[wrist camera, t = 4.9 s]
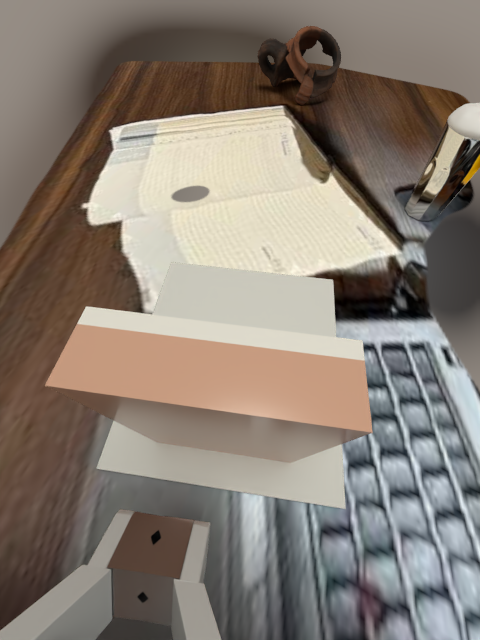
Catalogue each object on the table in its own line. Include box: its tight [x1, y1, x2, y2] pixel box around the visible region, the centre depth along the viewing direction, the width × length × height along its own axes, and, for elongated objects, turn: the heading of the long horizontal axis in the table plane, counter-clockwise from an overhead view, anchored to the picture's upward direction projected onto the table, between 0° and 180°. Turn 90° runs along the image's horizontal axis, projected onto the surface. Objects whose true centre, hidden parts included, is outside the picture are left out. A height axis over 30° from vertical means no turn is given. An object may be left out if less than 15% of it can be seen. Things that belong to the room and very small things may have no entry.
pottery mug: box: [258, 26, 341, 105], centre depth 41 cm, size 12×10×8 cm
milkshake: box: [405, 103, 480, 221], centre depth 24 cm, size 4×5×10 cm
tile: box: [45, 307, 372, 463], centre depth 12 cm, size 2×8×11 cm, turn 82°
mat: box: [96, 262, 345, 509], centre depth 19 cm, size 16×14×1 cm
